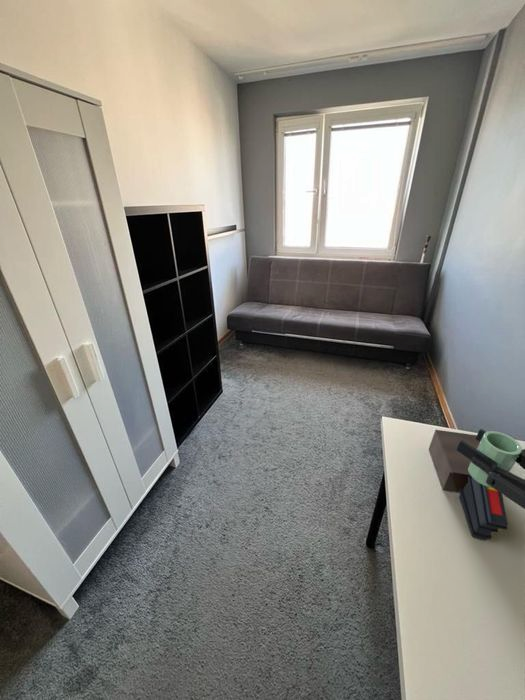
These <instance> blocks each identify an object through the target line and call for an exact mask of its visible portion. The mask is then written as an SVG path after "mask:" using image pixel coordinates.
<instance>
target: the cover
mask: <svg viewBox="0 0 525 700" xmlns="http://www.w3.org/2000/svg"><path fill="white" fill-rule="evenodd" d="M434 433H436V435H437V438H438V440H439V443H440V445H441V448H442V451H443V453H444V456H445V458H446V461H447V463H448V466H449V468H450V471H451V473H452V474H454V475H461V476H467V477H469V476H470V477H472V476H471V475H470V473H469V471H468V467H469V464H470V462H471V460H470V459H468V458H467V457H466V456H464V455H463V454H461V453H460V452H458V451H457V448H458V445H459V443H460V441H462V440H463V441H465V442H466V443H468V444H469V445H471V446H472V447H474V448H475V449H477V448H478V445H479V443H480V441H478V440H476V436H477V434H470V433H463V432H455V431H449V430H442V429H435V430H434Z"/></svg>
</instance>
